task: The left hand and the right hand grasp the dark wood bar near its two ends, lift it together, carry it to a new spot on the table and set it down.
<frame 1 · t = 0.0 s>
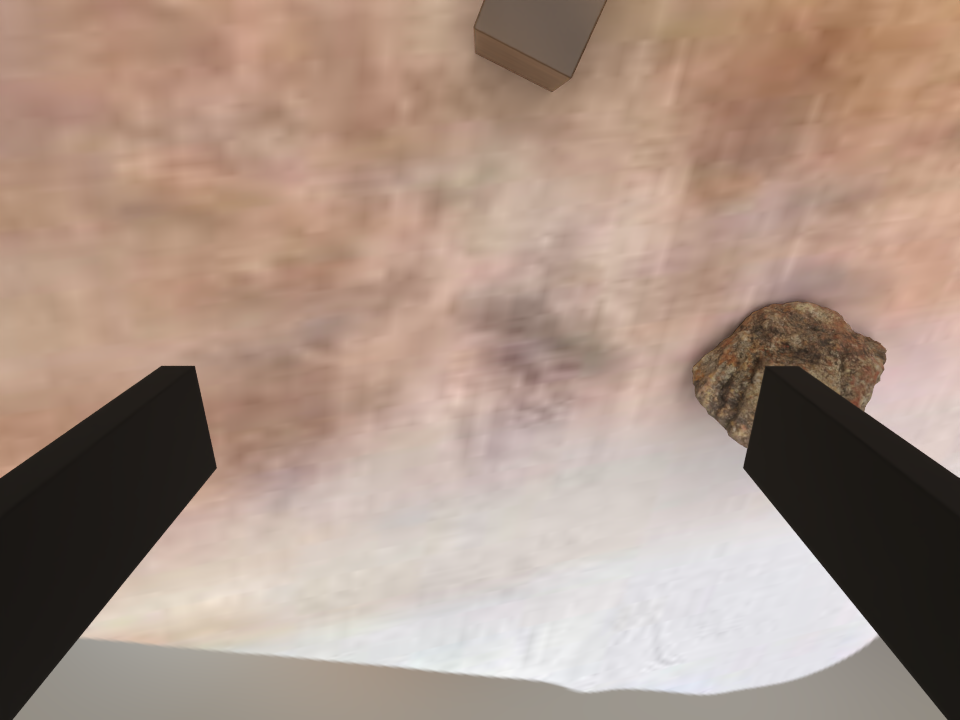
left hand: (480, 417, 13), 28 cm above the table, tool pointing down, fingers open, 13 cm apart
rock: (779, 360, 42), on the table
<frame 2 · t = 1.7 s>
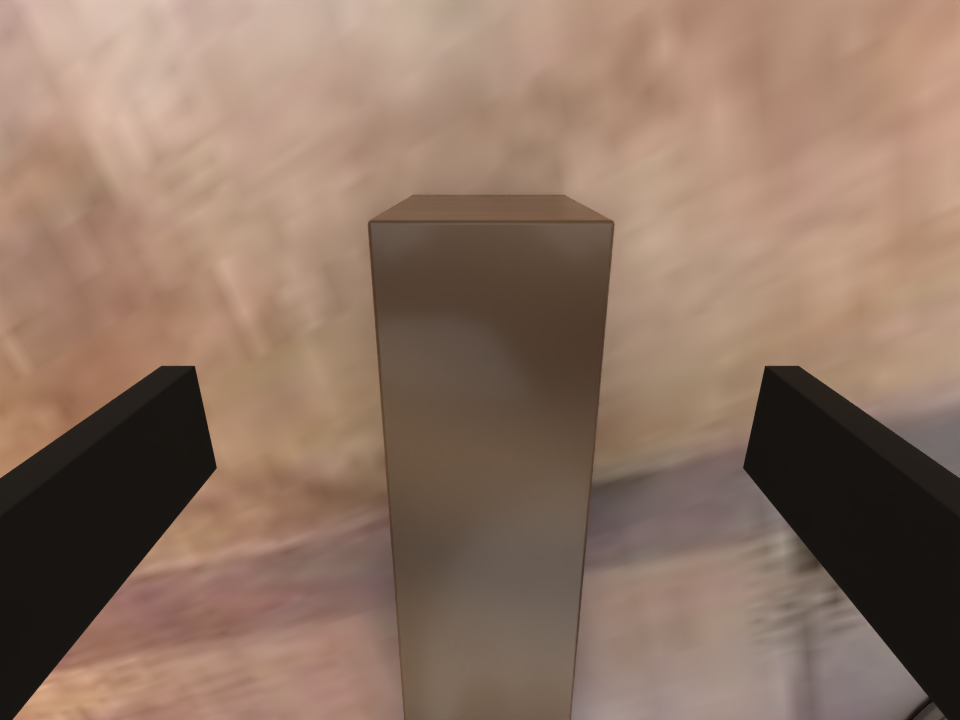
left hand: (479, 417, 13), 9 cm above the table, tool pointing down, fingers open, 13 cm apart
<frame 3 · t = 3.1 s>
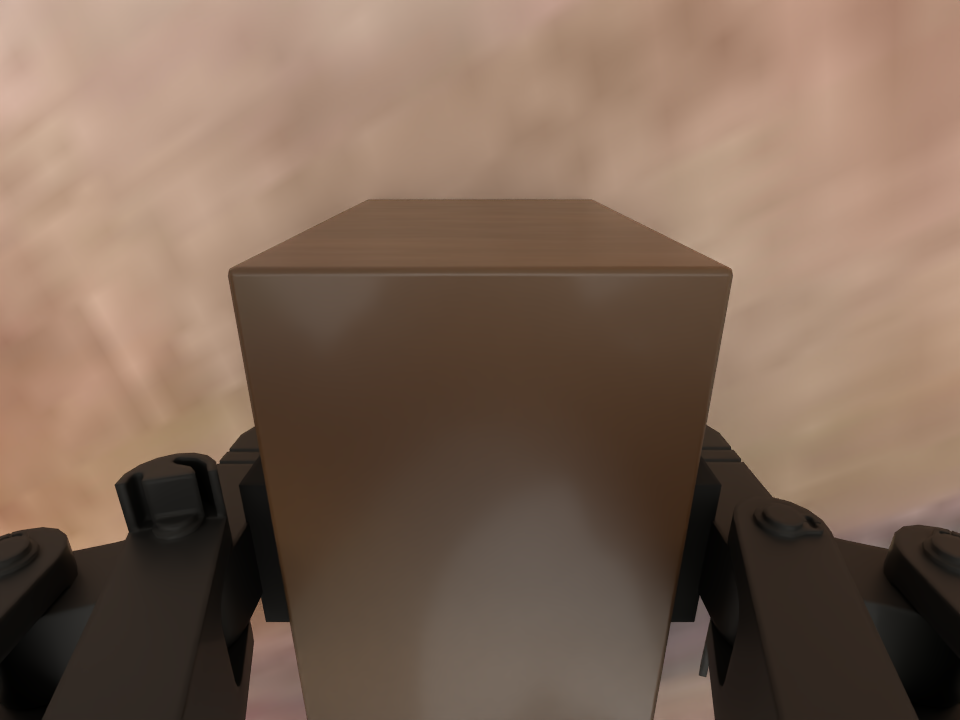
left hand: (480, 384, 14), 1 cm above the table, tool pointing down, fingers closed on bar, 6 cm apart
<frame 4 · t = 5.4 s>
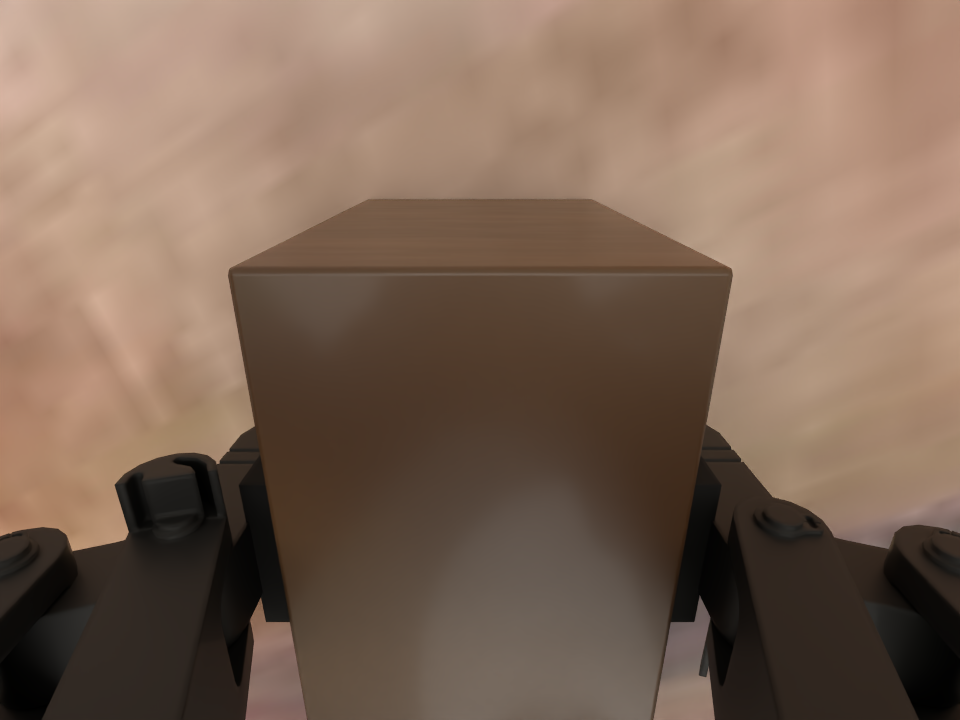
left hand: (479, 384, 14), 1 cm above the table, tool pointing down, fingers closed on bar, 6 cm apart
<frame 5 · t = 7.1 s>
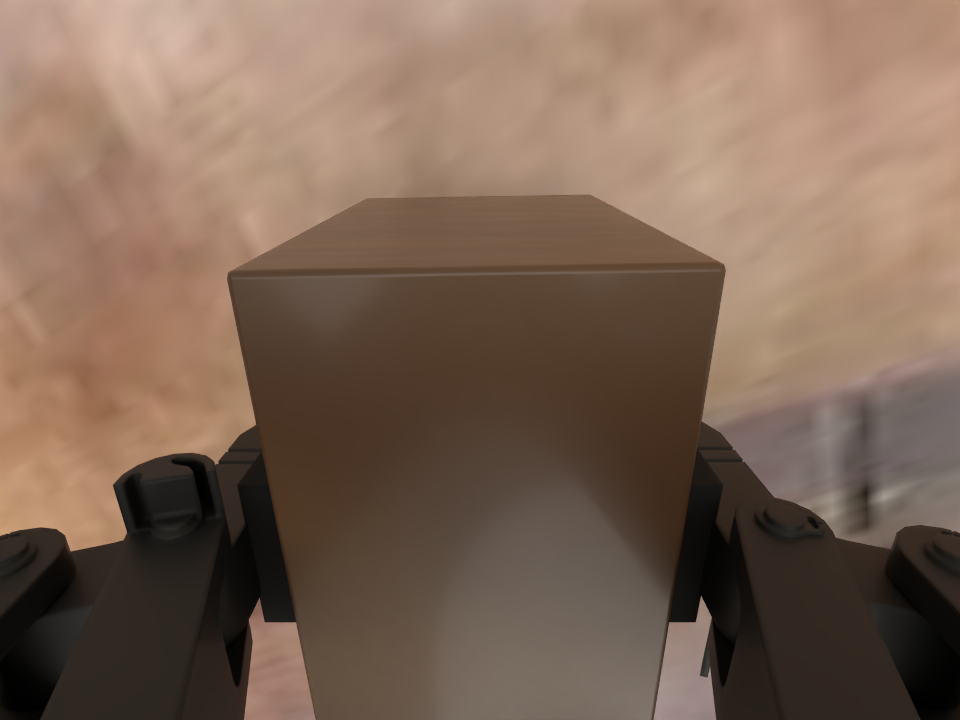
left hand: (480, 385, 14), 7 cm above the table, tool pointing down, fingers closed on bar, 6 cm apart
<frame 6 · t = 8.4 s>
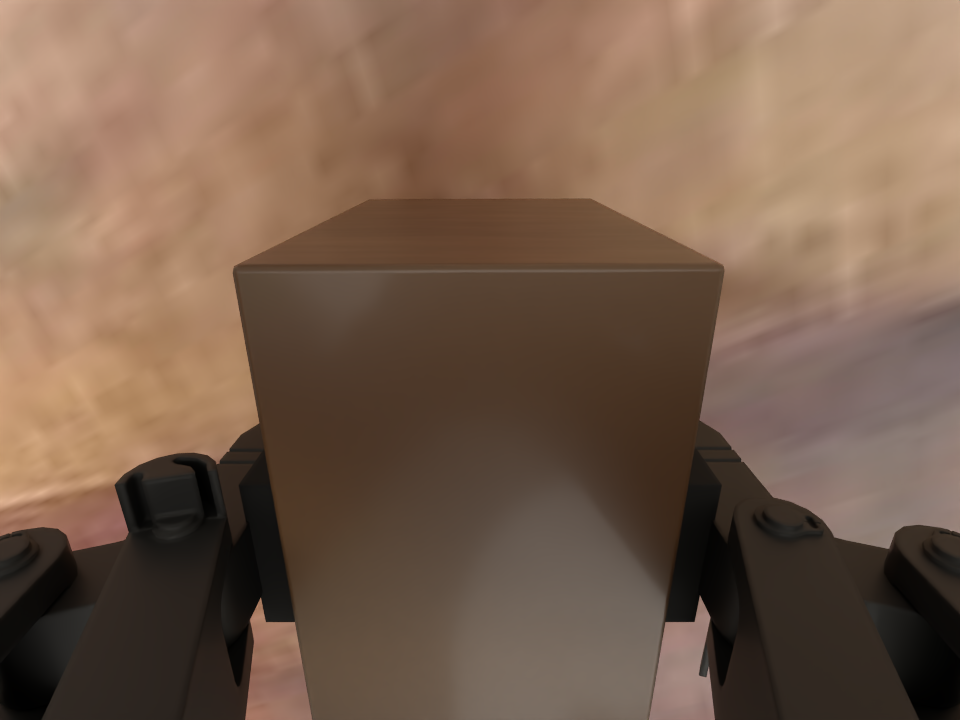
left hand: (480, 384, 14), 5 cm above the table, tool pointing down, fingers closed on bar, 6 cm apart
when the left hand's fingers open (2 cm above the table, at t = 9.0 s): bar drops 1 cm, on the table.
when the right hand's fingers open (4 cm above the table, at t = 9.2 s): bar stays where it is, on the table.
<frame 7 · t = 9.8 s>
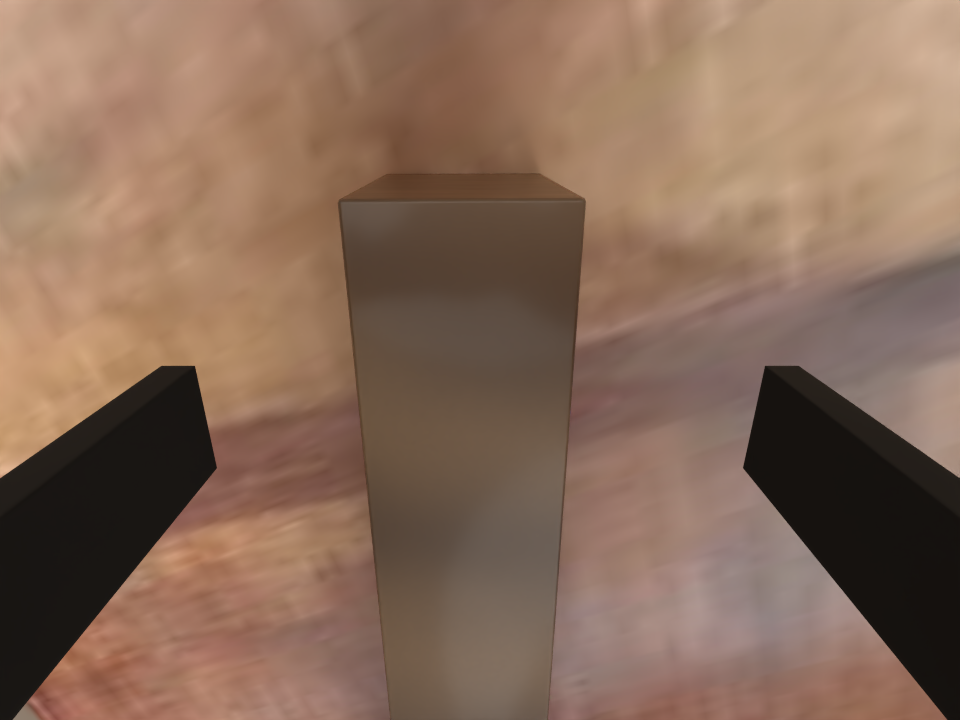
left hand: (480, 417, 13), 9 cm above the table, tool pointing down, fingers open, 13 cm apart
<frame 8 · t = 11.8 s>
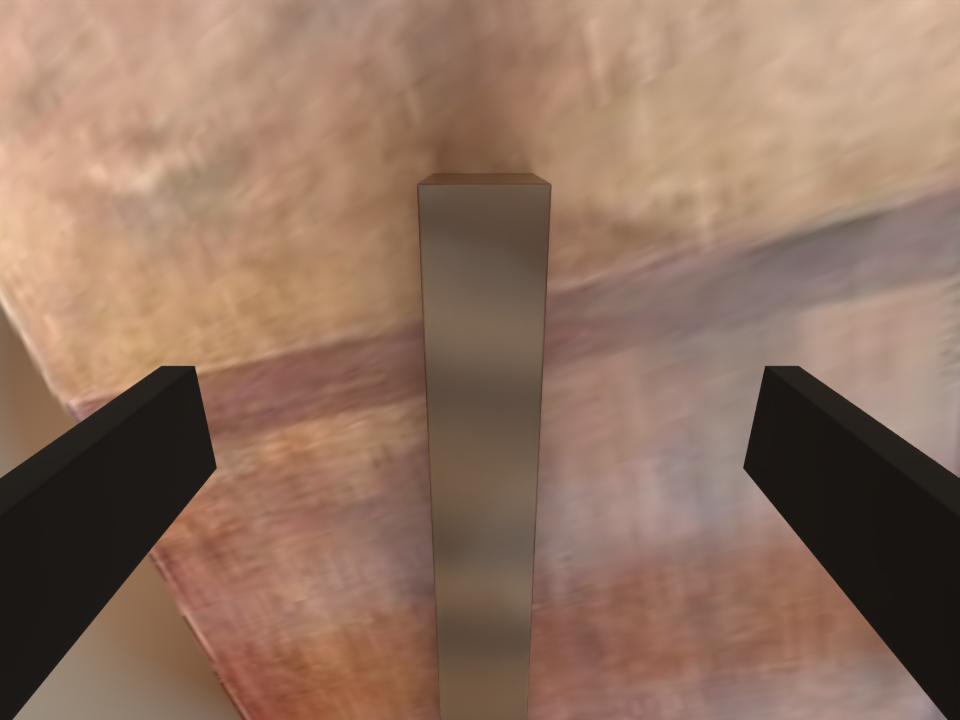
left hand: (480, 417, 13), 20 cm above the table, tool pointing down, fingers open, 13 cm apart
bar: (482, 646, 43), on the table
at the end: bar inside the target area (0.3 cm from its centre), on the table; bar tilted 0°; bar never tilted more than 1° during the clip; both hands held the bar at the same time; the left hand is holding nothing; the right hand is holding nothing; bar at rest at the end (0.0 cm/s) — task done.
